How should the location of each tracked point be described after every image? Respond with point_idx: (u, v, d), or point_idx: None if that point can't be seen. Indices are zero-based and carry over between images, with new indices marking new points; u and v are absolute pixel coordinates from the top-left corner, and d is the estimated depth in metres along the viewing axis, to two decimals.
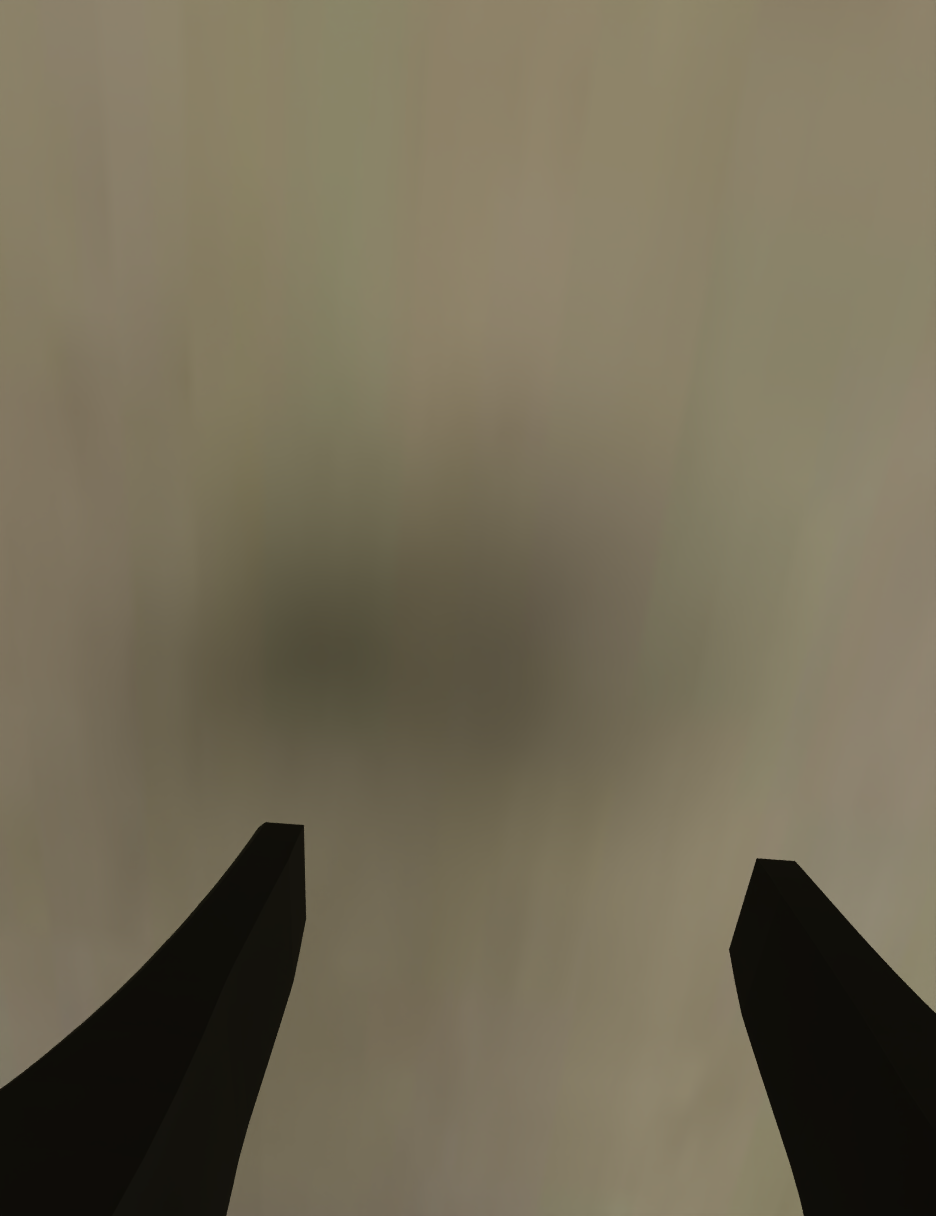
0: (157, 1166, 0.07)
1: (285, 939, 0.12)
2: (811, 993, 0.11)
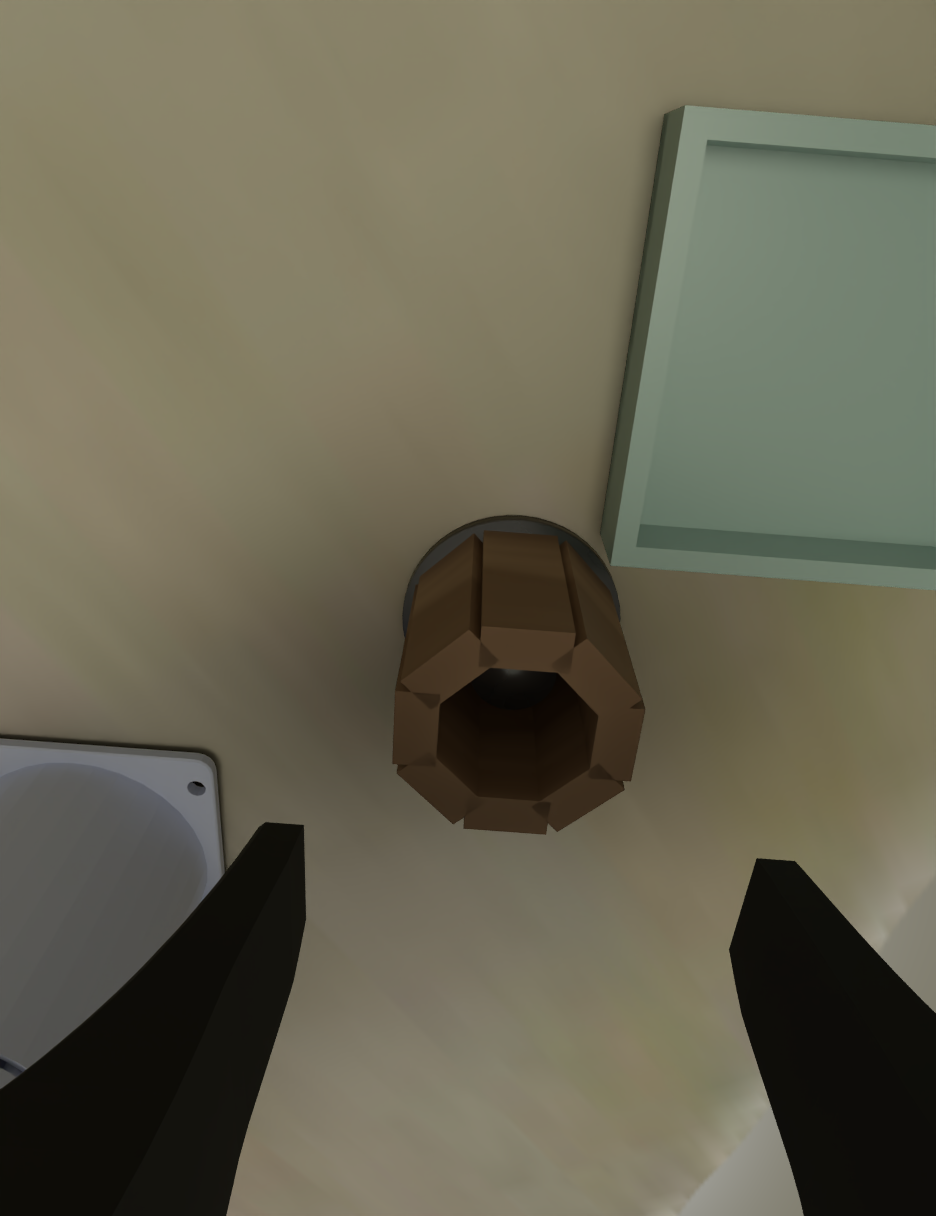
0: (157, 1166, 0.07)
1: (285, 939, 0.12)
2: (811, 993, 0.11)
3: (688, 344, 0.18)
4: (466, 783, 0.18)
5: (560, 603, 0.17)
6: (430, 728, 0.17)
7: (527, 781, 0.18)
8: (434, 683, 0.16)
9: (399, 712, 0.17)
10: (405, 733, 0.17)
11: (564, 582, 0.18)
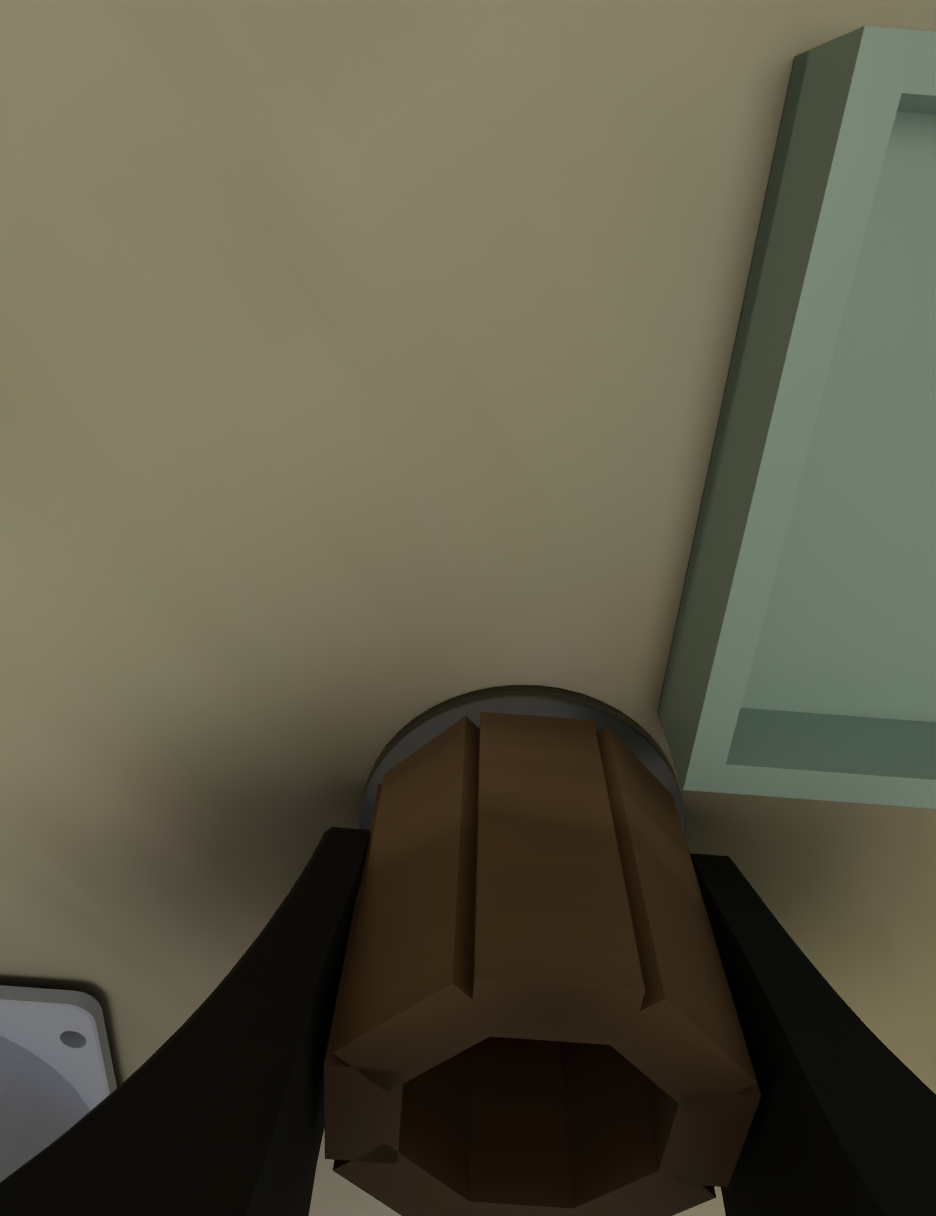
0: (270, 1174, 0.08)
1: None
2: (733, 987, 0.11)
3: (816, 442, 0.11)
4: (450, 1180, 0.11)
5: (611, 899, 0.10)
6: (387, 1114, 0.10)
7: (551, 1155, 0.11)
8: (392, 1057, 0.09)
9: (333, 1094, 0.10)
10: (345, 1119, 0.10)
11: (613, 838, 0.11)
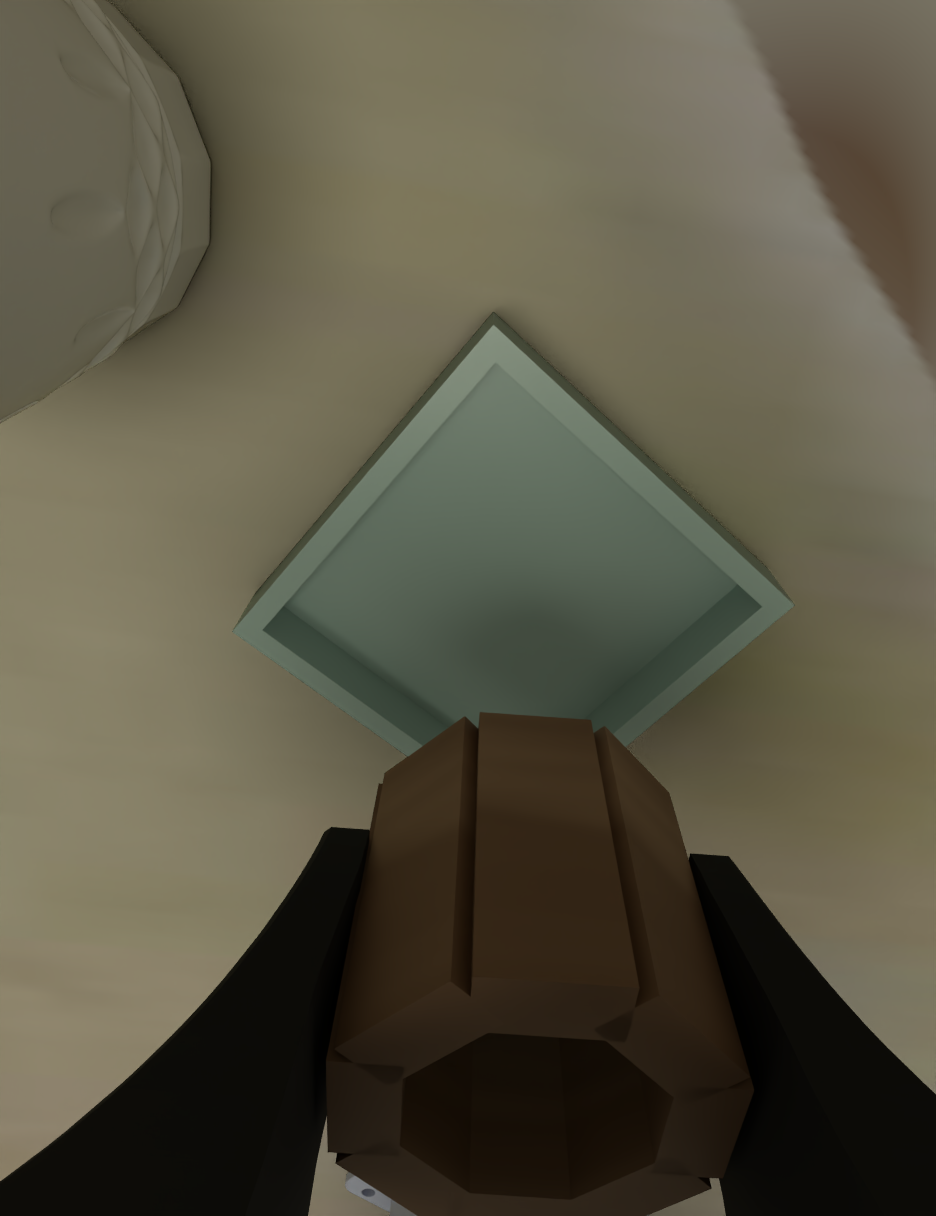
0: (269, 1174, 0.08)
1: None
2: (733, 988, 0.11)
3: (413, 672, 0.21)
4: (451, 1172, 0.11)
5: (606, 898, 0.10)
6: (388, 1110, 0.10)
7: (549, 1147, 0.11)
8: (392, 1052, 0.10)
9: (335, 1089, 0.10)
10: (347, 1114, 0.10)
11: (609, 838, 0.11)
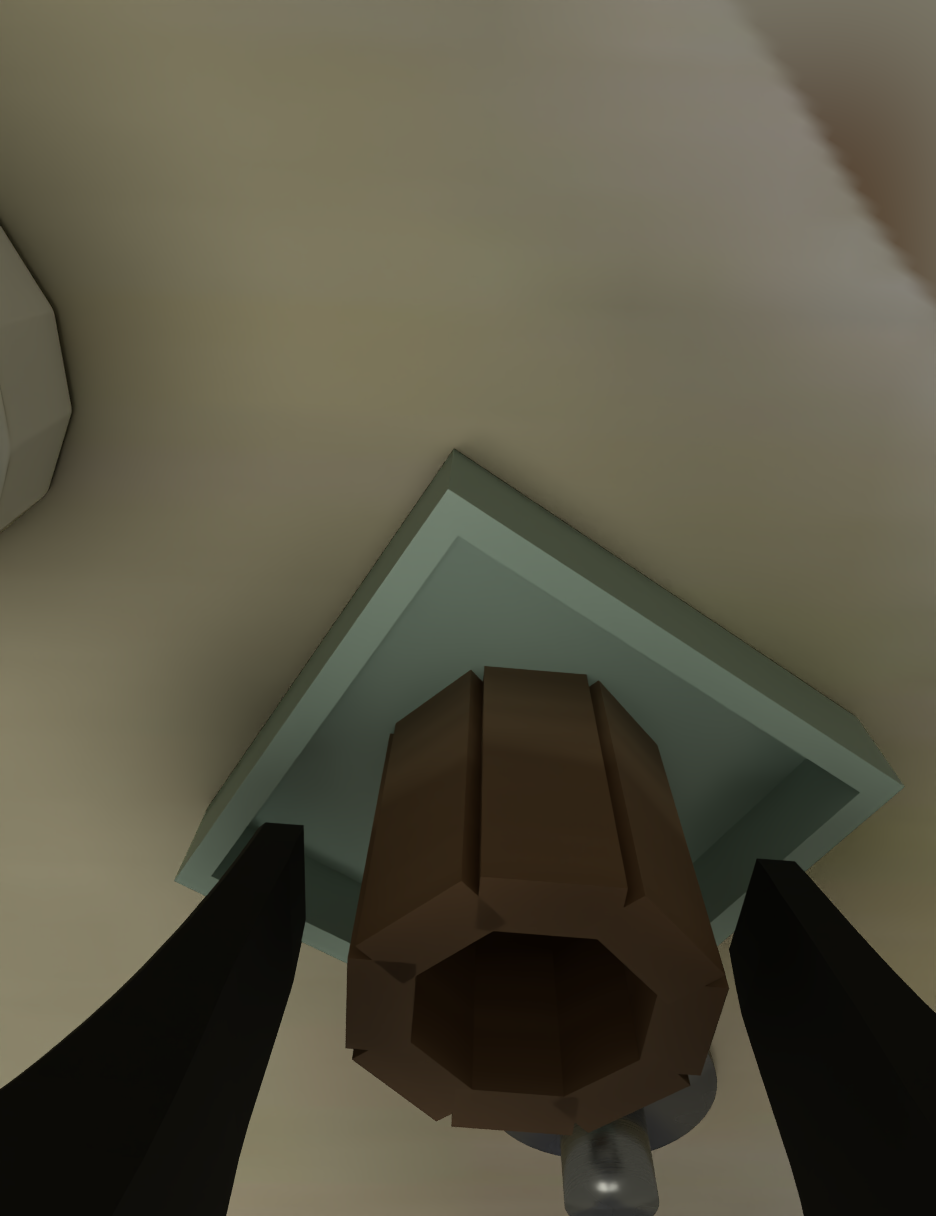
0: (157, 1166, 0.07)
1: (285, 939, 0.12)
2: (811, 993, 0.11)
3: None
4: (456, 1070, 0.12)
5: (599, 818, 0.11)
6: (401, 1006, 0.11)
7: (544, 1054, 0.13)
8: (407, 950, 0.11)
9: (354, 985, 0.11)
10: (364, 1011, 0.11)
11: (602, 770, 0.12)
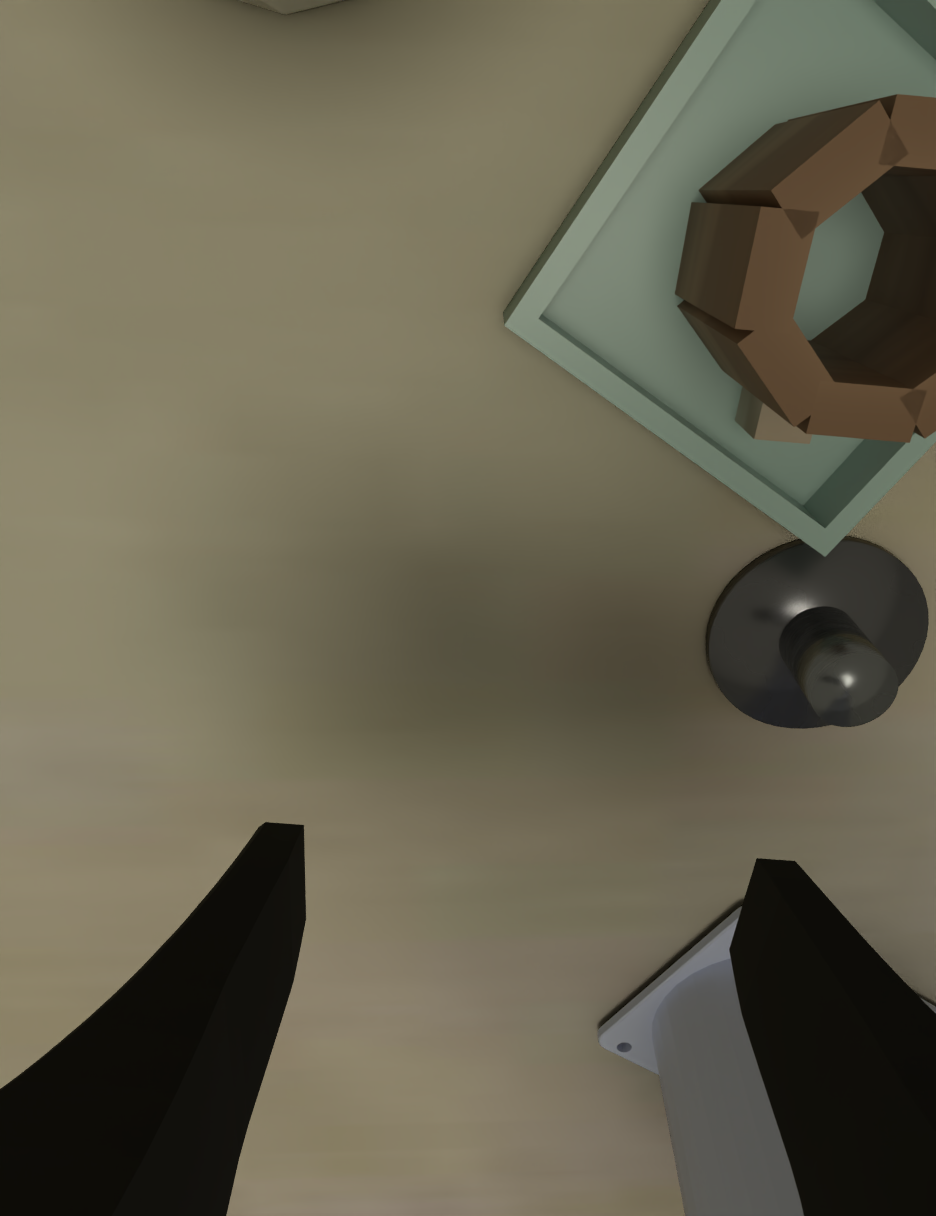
0: (157, 1166, 0.07)
1: (285, 939, 0.12)
2: (811, 993, 0.11)
3: (688, 381, 0.19)
4: (821, 364, 0.14)
5: None
6: (795, 270, 0.13)
7: (882, 379, 0.14)
8: (816, 192, 0.13)
9: (760, 242, 0.13)
10: (760, 278, 0.13)
11: None
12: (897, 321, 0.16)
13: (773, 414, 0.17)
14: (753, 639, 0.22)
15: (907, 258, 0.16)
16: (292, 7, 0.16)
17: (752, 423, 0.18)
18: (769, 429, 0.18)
